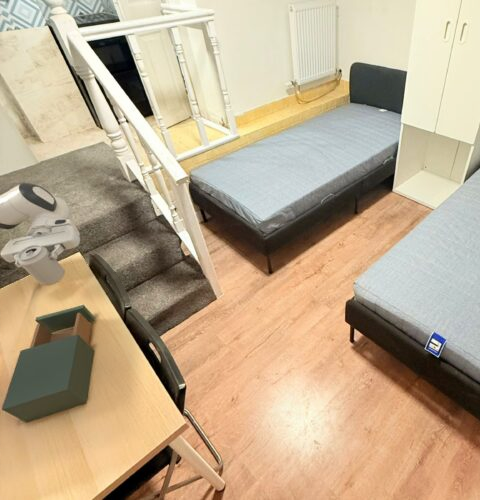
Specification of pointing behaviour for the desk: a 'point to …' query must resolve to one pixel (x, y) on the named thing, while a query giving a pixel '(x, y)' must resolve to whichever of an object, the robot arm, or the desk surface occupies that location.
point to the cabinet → (50, 379)
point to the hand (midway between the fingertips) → (36, 261)
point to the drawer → (63, 325)
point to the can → (40, 265)
